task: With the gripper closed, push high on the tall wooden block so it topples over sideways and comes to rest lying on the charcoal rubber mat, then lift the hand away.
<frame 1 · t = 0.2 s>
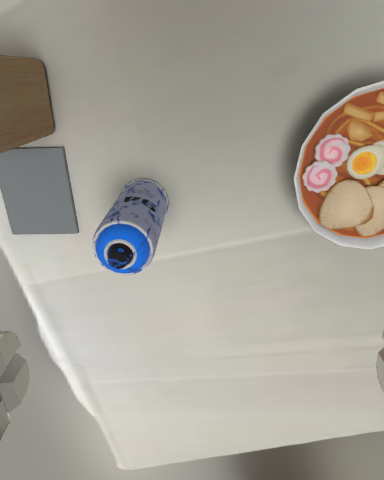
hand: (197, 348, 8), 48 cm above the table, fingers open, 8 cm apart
wooden block: (18, 98, 51), on the table
aerosol can: (144, 201, 57), on the table
ramen bowl: (358, 160, 53), on the table
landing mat: (38, 192, 56), on the table
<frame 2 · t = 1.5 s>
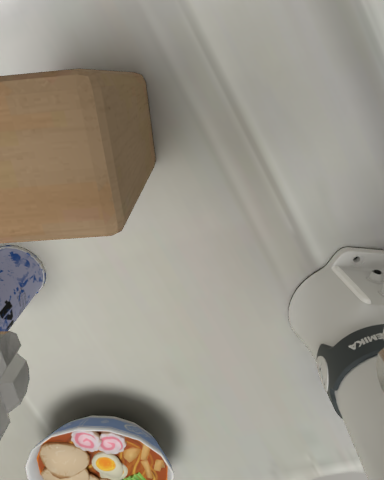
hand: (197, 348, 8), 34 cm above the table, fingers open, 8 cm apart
wooden block: (107, 125, 39), on the table
aerosol can: (17, 271, 47), on the table
ramen bowl: (111, 434, 60), on the table
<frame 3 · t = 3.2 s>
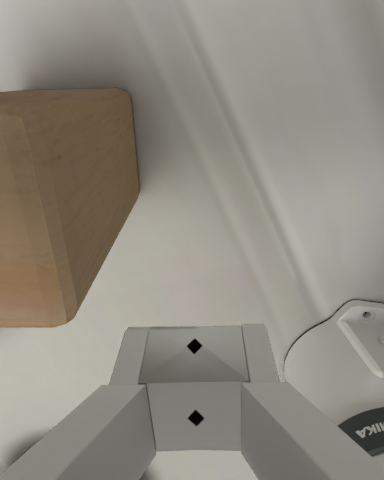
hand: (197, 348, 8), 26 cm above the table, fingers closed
wooden block: (84, 147, 33), on the table
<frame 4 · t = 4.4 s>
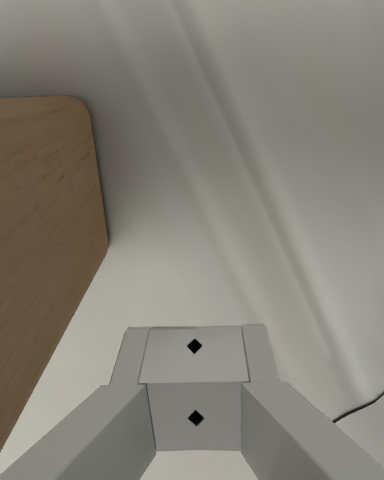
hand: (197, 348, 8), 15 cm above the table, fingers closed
wooden block: (27, 181, 22), on the table
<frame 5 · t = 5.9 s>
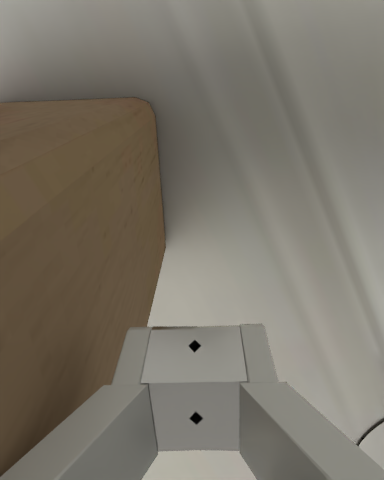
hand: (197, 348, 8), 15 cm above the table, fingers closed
wooden block: (84, 183, 22), on the table, touching gripper
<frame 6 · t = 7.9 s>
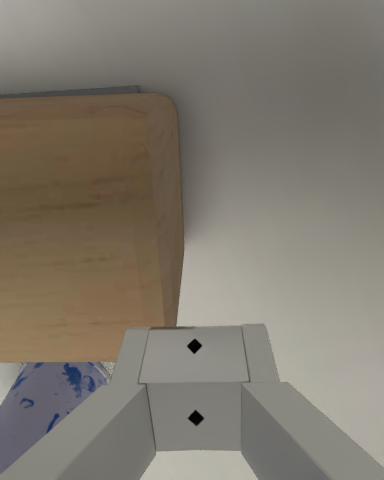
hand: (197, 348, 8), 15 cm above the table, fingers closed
wooden block: (180, 210, 16), point 6 cm above the table, touching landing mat
aerosol can: (67, 382, 30), on the table
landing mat: (40, 187, 22), on the table
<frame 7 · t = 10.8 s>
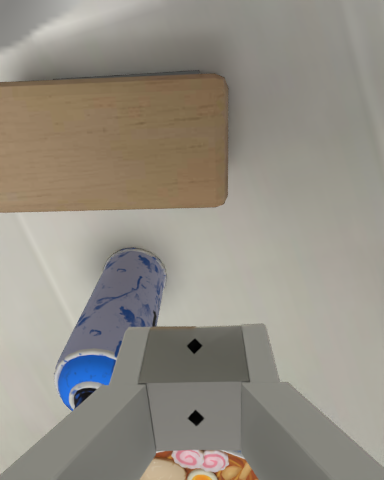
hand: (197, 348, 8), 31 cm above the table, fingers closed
wooden block: (227, 136, 30), point 6 cm above the table, touching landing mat
aerosol can: (135, 275, 44), on the table
ramen bowl: (196, 447, 57), on the table
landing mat: (133, 133, 36), on the table
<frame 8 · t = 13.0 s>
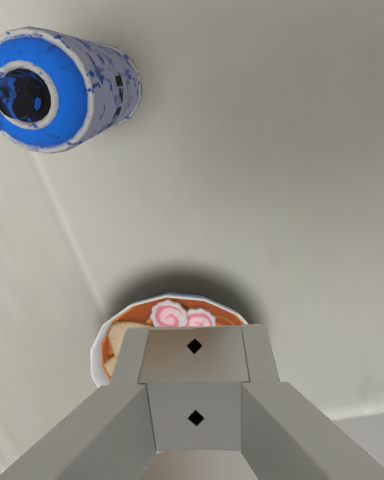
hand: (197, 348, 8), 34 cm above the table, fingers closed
aerosol can: (105, 86, 37), on the table
ramen bowl: (182, 331, 51), on the table
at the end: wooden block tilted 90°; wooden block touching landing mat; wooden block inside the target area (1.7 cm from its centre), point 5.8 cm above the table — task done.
